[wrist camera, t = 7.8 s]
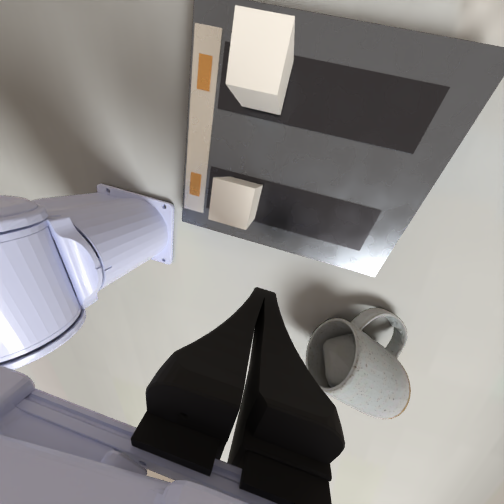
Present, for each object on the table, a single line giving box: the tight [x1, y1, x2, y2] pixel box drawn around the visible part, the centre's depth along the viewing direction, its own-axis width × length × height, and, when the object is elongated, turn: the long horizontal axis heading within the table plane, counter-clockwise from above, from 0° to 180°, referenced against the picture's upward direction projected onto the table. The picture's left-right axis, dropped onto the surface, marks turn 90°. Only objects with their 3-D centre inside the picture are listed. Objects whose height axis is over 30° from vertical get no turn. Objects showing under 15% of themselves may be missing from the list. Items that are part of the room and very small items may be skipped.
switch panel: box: [182, 0, 504, 277], centre depth 15 cm, size 20×16×2 cm
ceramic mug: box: [306, 308, 411, 419], centre depth 19 cm, size 11×8×8 cm
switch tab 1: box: [226, 5, 295, 115], centre depth 11 cm, size 3×3×4 cm
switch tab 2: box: [208, 176, 263, 230], centre depth 14 cm, size 3×3×4 cm
